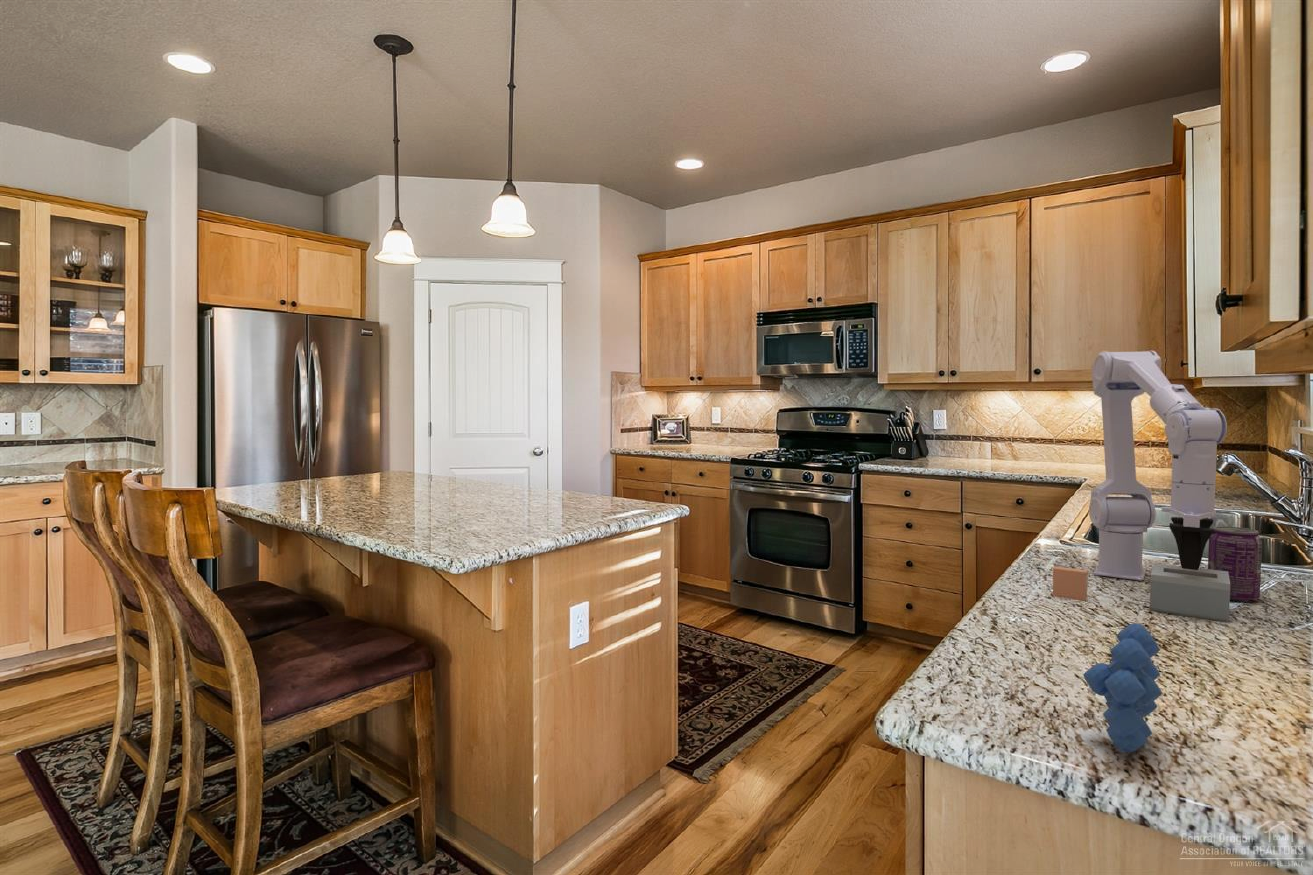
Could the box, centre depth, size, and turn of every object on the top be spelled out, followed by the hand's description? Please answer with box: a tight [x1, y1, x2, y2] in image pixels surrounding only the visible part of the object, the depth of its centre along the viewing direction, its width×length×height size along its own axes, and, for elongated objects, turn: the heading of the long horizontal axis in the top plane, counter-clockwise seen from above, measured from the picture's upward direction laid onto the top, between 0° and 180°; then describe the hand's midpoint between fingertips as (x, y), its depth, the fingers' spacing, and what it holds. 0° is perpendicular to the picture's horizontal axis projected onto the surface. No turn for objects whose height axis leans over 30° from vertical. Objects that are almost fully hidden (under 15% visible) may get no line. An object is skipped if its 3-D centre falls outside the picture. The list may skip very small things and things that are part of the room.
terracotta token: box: [1052, 565, 1089, 602], centre depth 121 cm, size 2×5×5 cm, turn 52°
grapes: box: [1082, 622, 1163, 754], centre depth 69 cm, size 12×7×12 cm, turn 136°
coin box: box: [1149, 562, 1231, 623], centre depth 114 cm, size 10×10×6 cm
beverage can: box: [1207, 525, 1263, 602], centre depth 120 cm, size 7×7×12 cm
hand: (1190, 564), depth 113 cm, fingers open, 7 cm apart
